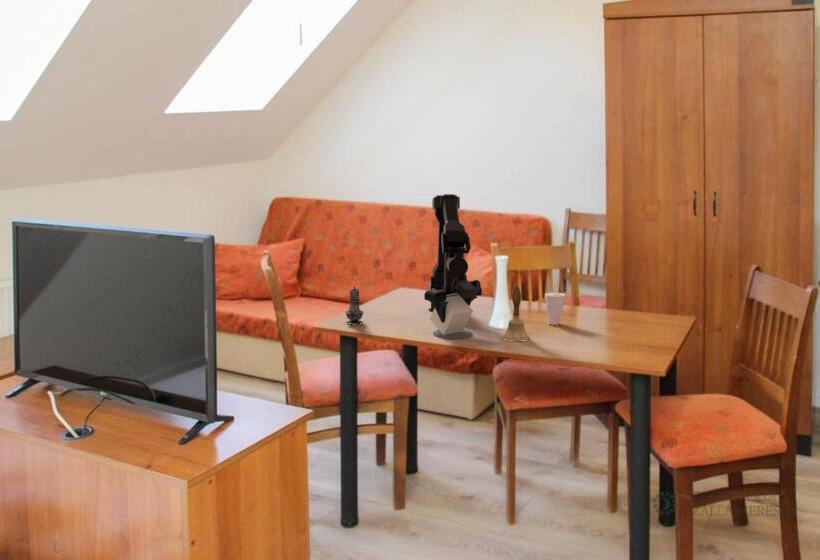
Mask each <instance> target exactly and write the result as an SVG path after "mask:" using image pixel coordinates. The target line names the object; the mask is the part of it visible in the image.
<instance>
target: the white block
mask: <svg viewBox="0 0 820 560" xmlns="http://www.w3.org/2000/svg"><path fill="white" fill-rule="evenodd" d="M445 301H446V302H448V304H447V305H446V310H445V322H444V323H442V322H441V320H440V318H439V316H438V313H437V311H436V309H435V308H434V310H433V311H432V313H431V315H430V317H429V321H431V323H432V324H433V325H434V326H435V327H436V328H437V330H439V331H440V332H441V333H442V334H443V335H448V334H453V333H458V332H463V330H465V327H466V326H467V324H468V322H469V320H470V318H471V316H472V314H473V312H474V310H473V309H472V307H470V306H469V305H468V304H467V303H466V302H465V301H464V300H463V299H462V297H461V296H460V295H457V296H451V297H447V299H446V300H445Z"/></svg>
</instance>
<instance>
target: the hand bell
mask: <svg viewBox="0 0 820 560" xmlns="http://www.w3.org/2000/svg"><path fill="white" fill-rule="evenodd" d="M513 287H514V288H513V291H512V294H511V298H512V305H513V314H512V315H513V318H512V319H509V320H508V325H507V329H506V331H505V333H504V334H502V336H501V338H503V339H502V340H504V339H507V340H513V341H521V340H527V339H529V338H530V335H529V334H528V333H527V332H526V329H525V324H524V322H525V321H524V320H523V319H521V318H520V306H521V305H520V304H521V301H522V294H521V290H520V286H519V285H514V286H513ZM507 340H506V341H507ZM529 340H530V339H529ZM513 341H512V342H513ZM527 341H528V340H527Z"/></svg>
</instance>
